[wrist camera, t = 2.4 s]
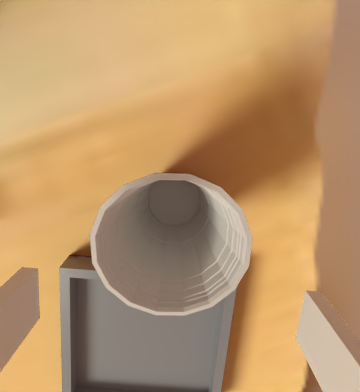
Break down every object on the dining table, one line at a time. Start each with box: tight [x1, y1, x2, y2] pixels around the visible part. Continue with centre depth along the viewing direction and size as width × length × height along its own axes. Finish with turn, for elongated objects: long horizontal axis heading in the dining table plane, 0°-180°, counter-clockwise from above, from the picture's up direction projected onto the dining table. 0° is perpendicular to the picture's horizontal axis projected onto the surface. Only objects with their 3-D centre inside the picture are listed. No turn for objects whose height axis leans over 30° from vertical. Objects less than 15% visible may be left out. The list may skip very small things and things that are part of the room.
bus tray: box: [60, 255, 237, 392], centre depth 34 cm, size 18×18×3 cm
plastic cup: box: [90, 173, 253, 316], centre depth 25 cm, size 11×11×12 cm
